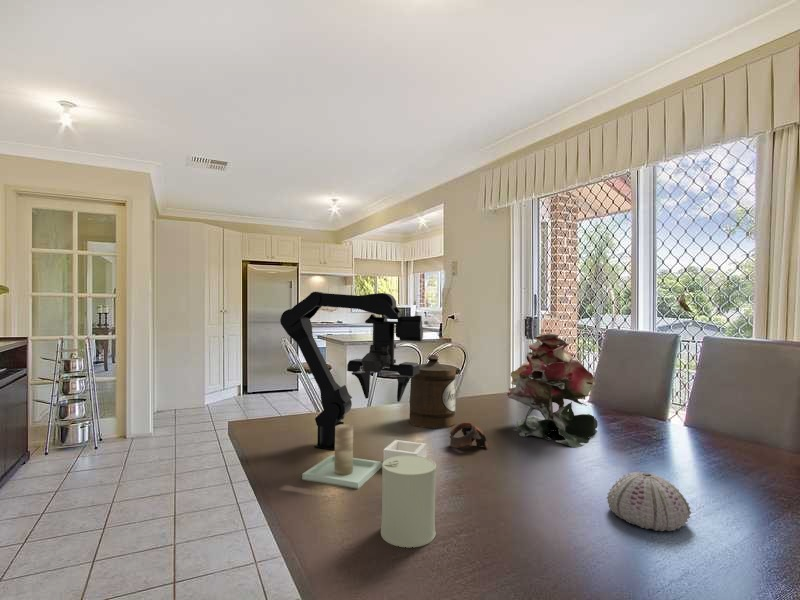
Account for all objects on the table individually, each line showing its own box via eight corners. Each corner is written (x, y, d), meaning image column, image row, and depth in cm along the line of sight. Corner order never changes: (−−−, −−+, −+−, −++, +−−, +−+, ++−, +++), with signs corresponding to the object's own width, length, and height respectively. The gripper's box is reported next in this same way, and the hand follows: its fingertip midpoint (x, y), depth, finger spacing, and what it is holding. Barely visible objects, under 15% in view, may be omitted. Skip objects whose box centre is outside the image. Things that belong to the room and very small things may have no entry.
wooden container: (457, 429, 139) (458, 357, 139) (409, 428, 139) (410, 357, 139) (452, 417, 154) (453, 352, 154) (409, 416, 154) (410, 352, 154)
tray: (302, 483, 95) (302, 473, 95) (331, 463, 107) (331, 454, 108) (358, 492, 91) (358, 482, 91) (381, 470, 103) (382, 461, 103)
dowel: (331, 473, 98) (332, 427, 98) (339, 467, 102) (340, 423, 102) (347, 476, 97) (348, 429, 97) (355, 470, 100) (356, 425, 101)
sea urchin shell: (655, 544, 73) (655, 494, 73) (590, 508, 86) (590, 466, 86) (707, 528, 78) (708, 482, 79) (639, 497, 91) (639, 458, 91)
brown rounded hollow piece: (493, 458, 114) (480, 431, 113) (460, 471, 116) (446, 446, 114) (486, 432, 126) (474, 408, 124) (456, 445, 127) (443, 422, 126)
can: (379, 520, 79) (380, 452, 80) (431, 519, 80) (431, 452, 80) (381, 548, 70) (382, 472, 70) (439, 547, 71) (441, 471, 71)
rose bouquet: (600, 426, 144) (601, 333, 145) (584, 450, 120) (585, 338, 120) (521, 414, 158) (522, 329, 158) (492, 434, 133) (493, 333, 134)
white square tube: (383, 471, 103) (383, 449, 103) (395, 460, 110) (395, 439, 110) (416, 476, 100) (416, 454, 100) (426, 464, 107) (426, 443, 107)
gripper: (337, 341, 114) (336, 402, 114) (405, 344, 107) (404, 410, 107) (357, 338, 125) (356, 394, 124) (420, 341, 118) (419, 401, 117)
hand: (382, 399), depth 118 cm, fingers open, 9 cm apart
